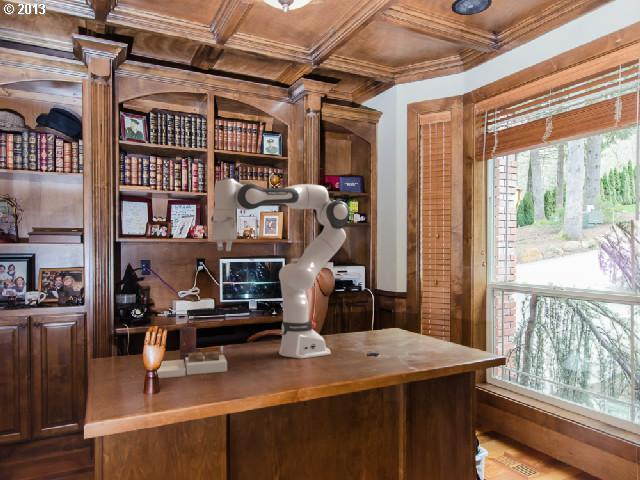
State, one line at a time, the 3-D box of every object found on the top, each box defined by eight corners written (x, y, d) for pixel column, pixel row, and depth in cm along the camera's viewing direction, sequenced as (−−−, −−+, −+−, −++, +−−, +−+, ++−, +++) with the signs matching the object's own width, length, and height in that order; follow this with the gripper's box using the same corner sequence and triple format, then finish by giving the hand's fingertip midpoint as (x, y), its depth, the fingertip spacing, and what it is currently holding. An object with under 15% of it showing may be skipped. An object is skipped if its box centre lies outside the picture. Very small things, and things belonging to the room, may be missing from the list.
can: (191, 363, 175) (192, 328, 176) (177, 362, 177) (177, 327, 177) (198, 359, 181) (199, 325, 181) (184, 358, 183) (185, 325, 183)
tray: (183, 365, 173) (183, 359, 173) (185, 376, 160) (185, 369, 160) (156, 367, 169) (156, 361, 169) (155, 378, 156) (155, 371, 156)
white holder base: (223, 363, 176) (223, 354, 176) (226, 371, 166) (227, 361, 166) (185, 366, 172) (185, 357, 172) (186, 374, 161) (186, 365, 161)
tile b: (201, 358, 170) (202, 352, 170) (202, 361, 167) (203, 354, 167) (188, 359, 169) (188, 353, 169) (189, 362, 165) (189, 355, 165)
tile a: (217, 357, 172) (217, 351, 172) (219, 360, 169) (219, 353, 169) (204, 358, 171) (204, 352, 171) (205, 361, 167) (205, 354, 167)
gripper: (241, 216, 176) (240, 251, 176) (223, 218, 194) (223, 250, 194) (225, 216, 173) (225, 251, 173) (209, 218, 190) (209, 250, 190)
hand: (224, 250), depth 183 cm, fingers open, 8 cm apart
